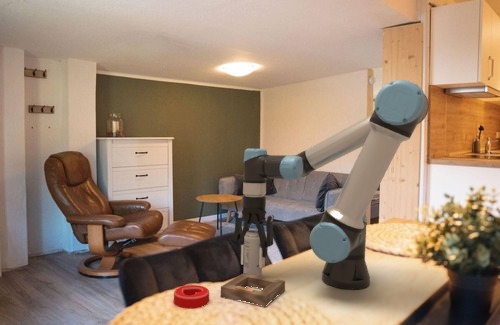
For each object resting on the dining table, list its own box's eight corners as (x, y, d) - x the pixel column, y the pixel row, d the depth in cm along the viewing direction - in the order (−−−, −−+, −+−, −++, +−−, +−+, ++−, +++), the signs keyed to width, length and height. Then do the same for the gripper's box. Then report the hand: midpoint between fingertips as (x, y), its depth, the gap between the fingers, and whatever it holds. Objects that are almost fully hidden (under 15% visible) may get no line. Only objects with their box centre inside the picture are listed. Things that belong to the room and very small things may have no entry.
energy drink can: (261, 280, 123) (262, 233, 122) (243, 279, 123) (244, 233, 122) (261, 273, 129) (262, 230, 128) (243, 273, 129) (244, 229, 128)
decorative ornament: (180, 294, 110) (181, 283, 110) (213, 297, 109) (213, 286, 109) (168, 307, 101) (168, 295, 101) (203, 311, 99) (203, 299, 99)
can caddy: (284, 290, 114) (285, 279, 114) (265, 307, 102) (265, 295, 102) (243, 282, 121) (243, 271, 120) (220, 297, 108) (220, 285, 108)
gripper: (285, 196, 124) (283, 266, 125) (234, 192, 133) (233, 258, 133) (276, 198, 117) (274, 273, 118) (223, 194, 126) (222, 263, 127)
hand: (252, 264), depth 126 cm, fingers closed on energy drink can, 6 cm apart
